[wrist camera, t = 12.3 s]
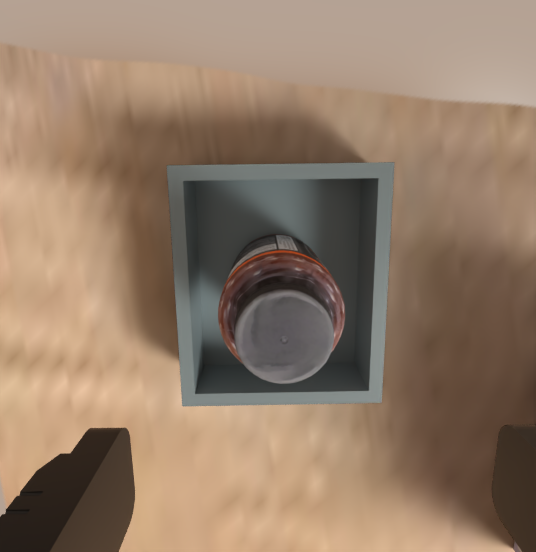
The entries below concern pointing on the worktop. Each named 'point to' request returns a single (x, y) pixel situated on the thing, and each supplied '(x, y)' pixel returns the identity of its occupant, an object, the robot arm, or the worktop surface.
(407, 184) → the worktop surface
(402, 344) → the worktop surface
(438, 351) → the worktop surface
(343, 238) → the bin
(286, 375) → the supplement bottle
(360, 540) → the worktop surface
